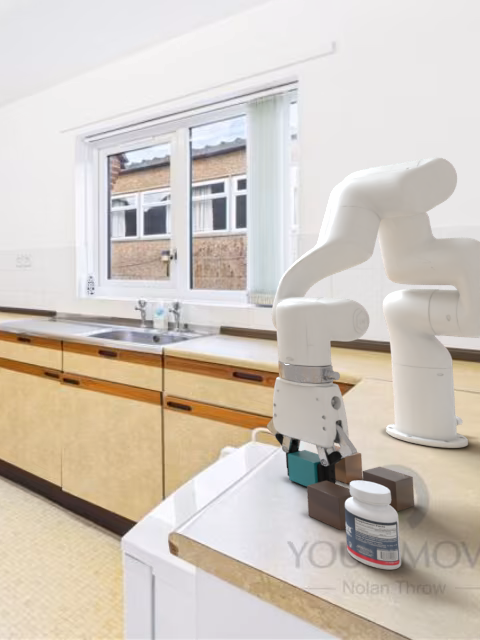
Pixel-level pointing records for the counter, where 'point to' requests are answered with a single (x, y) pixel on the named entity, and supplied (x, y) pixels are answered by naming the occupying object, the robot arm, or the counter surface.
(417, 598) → the counter surface
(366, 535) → the pill bottle
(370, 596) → the counter surface
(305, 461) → the teal toy cube
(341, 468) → the caramel wooden cube
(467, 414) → the counter surface
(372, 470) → the taupe block
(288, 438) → the robot arm
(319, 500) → the brown cube
